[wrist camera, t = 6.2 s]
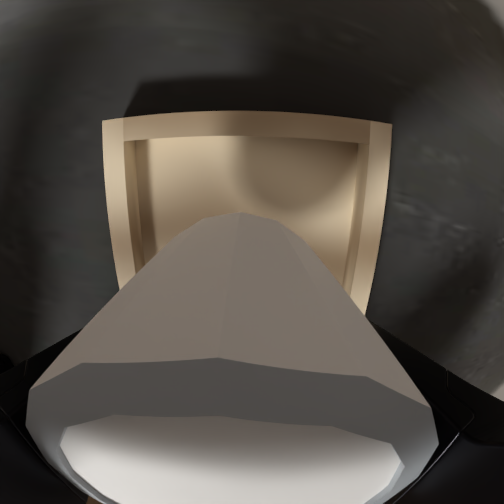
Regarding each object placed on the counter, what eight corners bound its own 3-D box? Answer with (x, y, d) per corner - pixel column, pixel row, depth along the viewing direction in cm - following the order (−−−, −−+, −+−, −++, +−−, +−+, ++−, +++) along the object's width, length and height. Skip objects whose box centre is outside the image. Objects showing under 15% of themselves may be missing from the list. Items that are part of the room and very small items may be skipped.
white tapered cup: (128, 191, 9) (-52, 316, 2) (354, 197, 9) (525, 337, 2) (152, 364, 11) (103, 520, 5) (323, 369, 11) (362, 530, 5)
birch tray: (344, 336, 17) (353, 358, 15) (144, 333, 17) (134, 354, 15) (374, 124, 13) (392, 124, 11) (120, 121, 12) (102, 120, 11)
